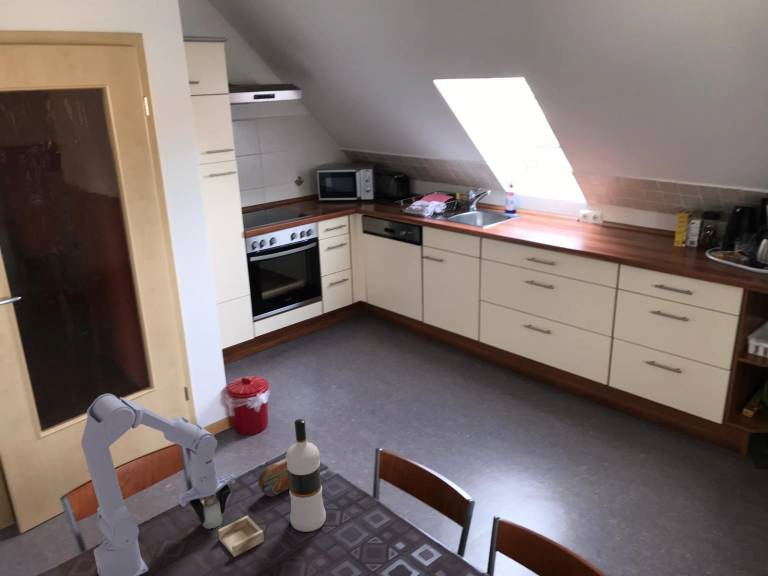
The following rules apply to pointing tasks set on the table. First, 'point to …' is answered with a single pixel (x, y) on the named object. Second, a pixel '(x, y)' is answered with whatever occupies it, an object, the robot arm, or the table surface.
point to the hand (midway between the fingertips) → (211, 516)
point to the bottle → (211, 512)
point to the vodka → (305, 483)
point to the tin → (274, 478)
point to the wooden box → (241, 536)
